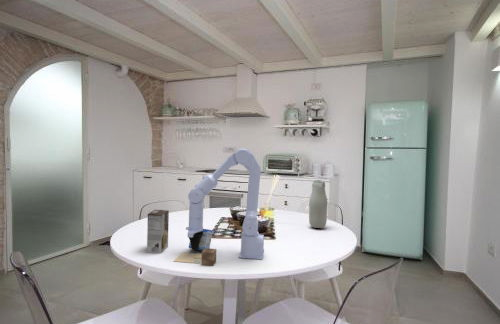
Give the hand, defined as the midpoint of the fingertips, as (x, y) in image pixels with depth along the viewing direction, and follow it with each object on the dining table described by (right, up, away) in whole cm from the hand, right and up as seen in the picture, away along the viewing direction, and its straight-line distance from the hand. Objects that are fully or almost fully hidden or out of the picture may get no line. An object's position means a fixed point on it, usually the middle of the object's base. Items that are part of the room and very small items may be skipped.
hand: (195, 250), depth 125 cm
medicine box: (+1, -1, +3) cm, 3 cm away
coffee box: (-16, -1, +3) cm, 17 cm away
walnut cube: (+7, -2, -11) cm, 13 cm away
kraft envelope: (-1, -1, -6) cm, 6 cm away
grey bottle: (+62, -2, +50) cm, 79 cm away
